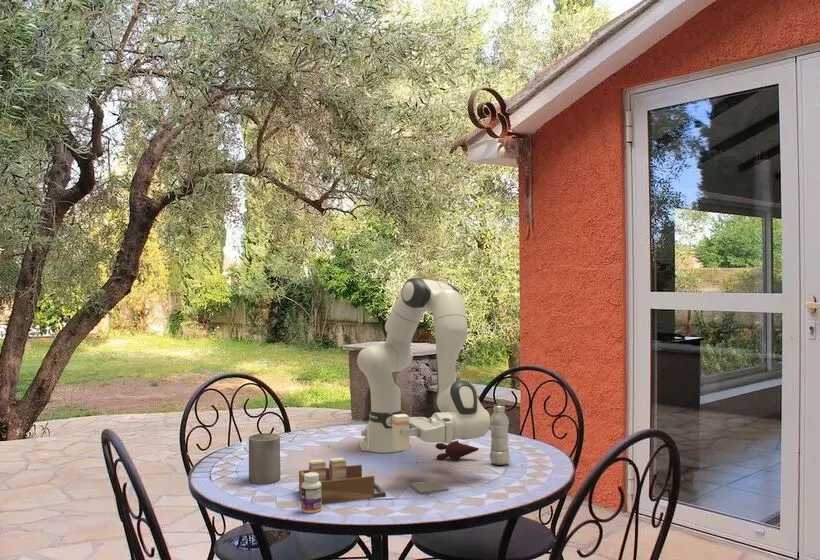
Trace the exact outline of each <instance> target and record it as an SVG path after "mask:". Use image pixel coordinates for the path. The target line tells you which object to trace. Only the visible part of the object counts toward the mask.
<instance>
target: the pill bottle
mask: <svg viewBox="0 0 820 560" xmlns="http://www.w3.org/2000/svg"><path fill="white" fill-rule="evenodd" d="M304 480H305V482H303V483H302V487H301V493H300V495H301V494H302V495H301V511H302V512H304V513H307V514H314V513H315V514H316V513H319V512H321V510H322V509H323V508H322V507H323V506H322V505H323V504H322V495H321V482H320V481H318V480H319V474H318V473H316V472H310V473H306V474H304Z"/></svg>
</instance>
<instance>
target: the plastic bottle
mask: <svg viewBox="0 0 820 560" xmlns="http://www.w3.org/2000/svg"><path fill="white" fill-rule="evenodd" d="M505 408H506V406H505V404H498V403H497V404H493V410H492V411H494V412H493V413H492V414H491V415H490V420H491V423H490V428H489V430H490V435H491V441H490V443H491V444H490V452H489V459H490V462H491V463H492V464H493V465H498V466H504V465H508V464H509V463H510V457H511V456H510V455H511V454H510V451H509V443H508V441H509V439H508V436H509V427H510V426H509V424H510V420H509V417H508V416H507V414H506V413H505V411H506V409H505Z"/></svg>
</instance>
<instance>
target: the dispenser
mask: <svg viewBox="0 0 820 560" xmlns="http://www.w3.org/2000/svg"><path fill="white" fill-rule="evenodd" d="M328 460H329V463H328V464H329V465H328V467H326V463H327V462H326V461H324V459H314V460H313V459H312V460H308V469H306V470H305V469H304V470H303V469H302V470H298V490H299V491H298V492H299V493H300V495H301V496H302V494H301V487H302V483H303V482H305V480H304V474H306V473H310V472H316V473H318V474H319V480H318V481H320V482H321V495H322V505H324V504H325V505H326V504H333V503H341V502H349V501H351V502H352V501H358V500H359V501H361V500H368V499H375V498H376V499H377V498H383V497H386V496H387V495H386V494H387V493H386V492H385V491H384V490H383V489H382V488H381V487H380V486H379V485H378V484H377V483H375V475H368V476H363V465H362V464H353V465H347V460H346V459H345V458H344V457H335V458H329V459H328ZM375 490H376V491H377V492H375Z"/></svg>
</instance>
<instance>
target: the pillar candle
mask: <svg viewBox="0 0 820 560" xmlns="http://www.w3.org/2000/svg"><path fill="white" fill-rule="evenodd" d="M280 480H281V435H279V434H278V433H269V432H267V433H266V432H263V433H257V434H252V435H250V436H249V437H248V482H249V483H250V484H253V485H262V486H263V485H264V486H265V485H270V484H273V483H277V482H279V481H280Z"/></svg>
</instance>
